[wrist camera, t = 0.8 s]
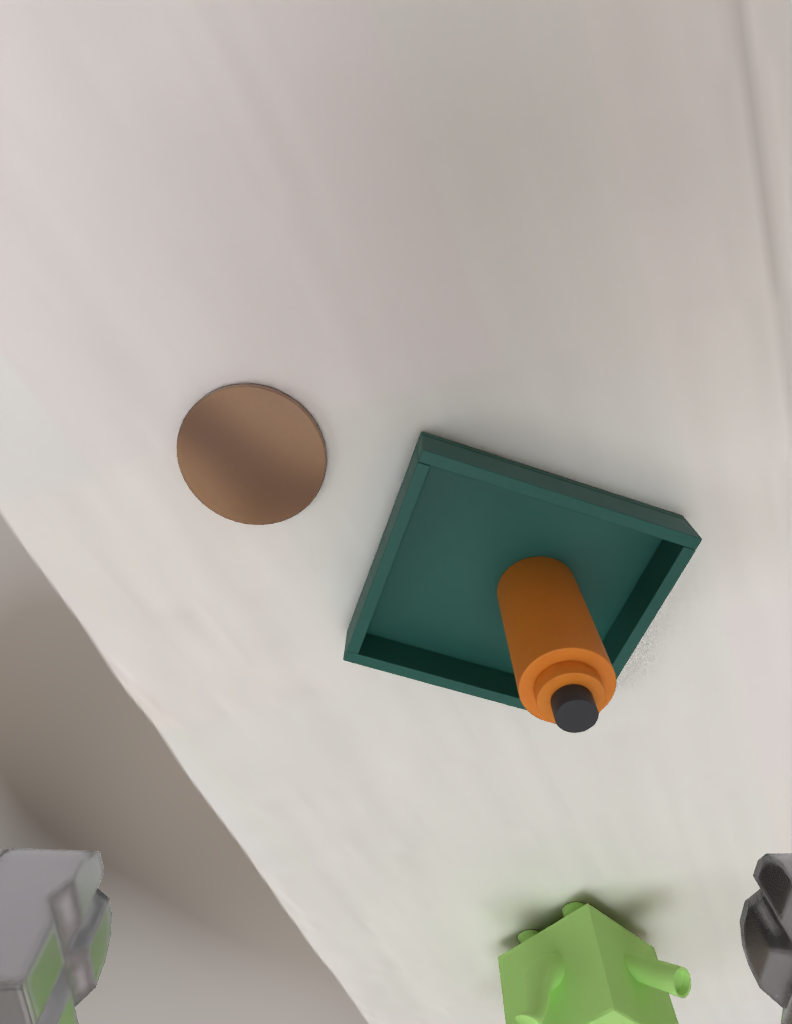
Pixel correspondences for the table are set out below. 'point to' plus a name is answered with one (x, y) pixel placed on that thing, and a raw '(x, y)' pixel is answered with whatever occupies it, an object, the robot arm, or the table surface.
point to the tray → (503, 566)
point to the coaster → (251, 454)
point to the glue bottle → (554, 644)
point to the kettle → (588, 975)
